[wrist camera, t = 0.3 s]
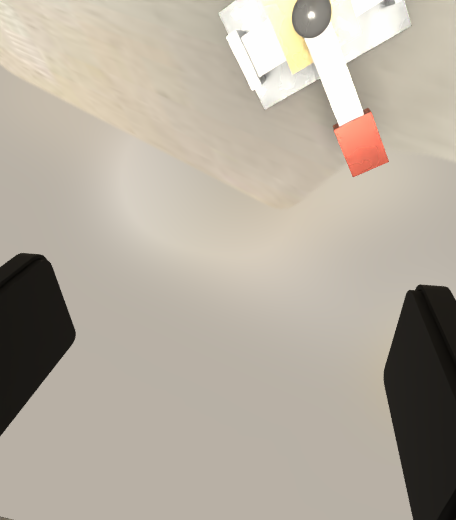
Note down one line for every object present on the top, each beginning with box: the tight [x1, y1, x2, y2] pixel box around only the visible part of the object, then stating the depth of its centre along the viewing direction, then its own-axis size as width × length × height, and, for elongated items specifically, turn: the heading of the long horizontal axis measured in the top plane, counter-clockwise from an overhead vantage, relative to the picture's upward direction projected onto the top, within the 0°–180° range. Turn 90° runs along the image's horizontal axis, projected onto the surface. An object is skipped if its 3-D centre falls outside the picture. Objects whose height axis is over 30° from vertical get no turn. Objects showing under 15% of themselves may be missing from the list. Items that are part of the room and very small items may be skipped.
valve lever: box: [292, 0, 389, 177], centre depth 28 cm, size 14×3×2 cm, turn 30°
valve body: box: [218, 0, 412, 109], centre depth 30 cm, size 10×15×9 cm, turn 120°
